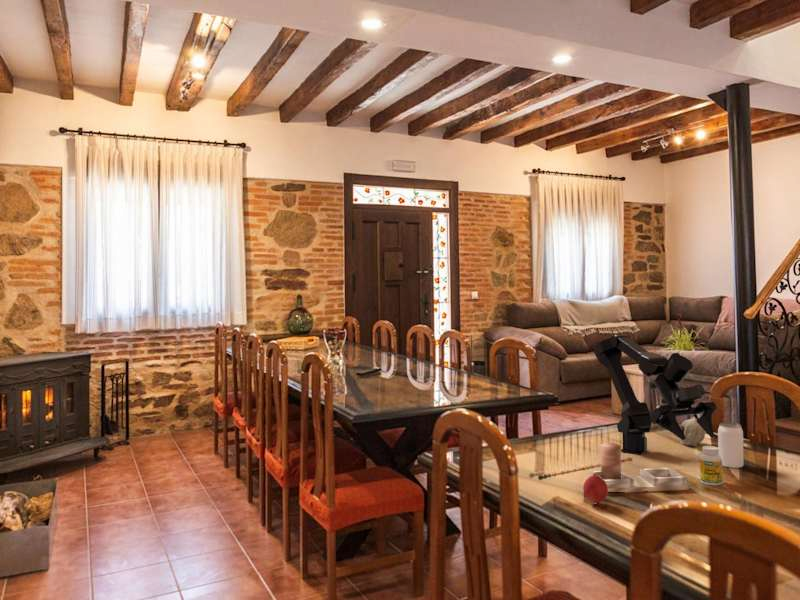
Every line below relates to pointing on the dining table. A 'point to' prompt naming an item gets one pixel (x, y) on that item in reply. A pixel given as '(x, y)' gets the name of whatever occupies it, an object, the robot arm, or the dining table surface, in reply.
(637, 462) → the dining table surface
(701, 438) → the grey round lump
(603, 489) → the onion
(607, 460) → the candle holder
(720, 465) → the supplement bottle
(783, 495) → the dining table surface
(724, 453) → the can
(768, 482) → the dining table surface
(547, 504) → the dining table surface
